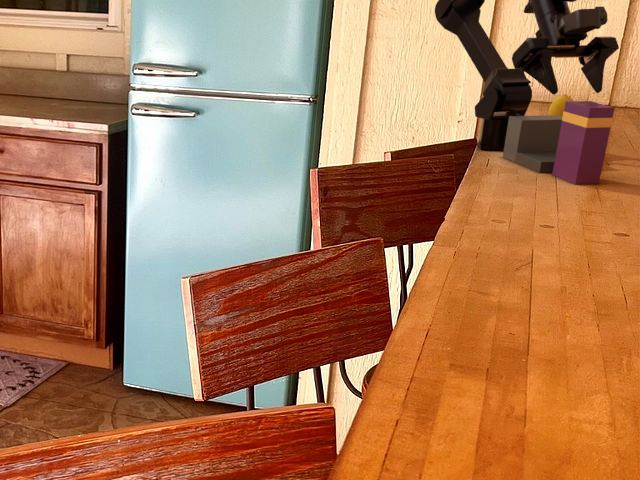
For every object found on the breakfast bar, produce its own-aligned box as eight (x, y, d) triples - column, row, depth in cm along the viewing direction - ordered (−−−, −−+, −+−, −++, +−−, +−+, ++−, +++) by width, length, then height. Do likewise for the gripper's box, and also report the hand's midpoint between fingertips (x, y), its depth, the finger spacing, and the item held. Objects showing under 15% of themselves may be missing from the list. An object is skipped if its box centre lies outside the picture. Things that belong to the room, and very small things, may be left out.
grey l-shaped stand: (502, 157, 175) (509, 116, 172) (549, 156, 177) (557, 115, 173) (539, 172, 163) (547, 128, 159) (589, 171, 164) (598, 127, 161)
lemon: (566, 128, 206) (573, 92, 203) (574, 132, 201) (581, 96, 198) (542, 127, 206) (548, 92, 203) (549, 132, 201) (556, 95, 198)
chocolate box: (574, 184, 154) (590, 107, 149) (551, 175, 161) (565, 101, 156) (599, 183, 155) (615, 107, 149) (575, 174, 162) (589, 100, 156)
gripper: (536, -11, 154) (560, 66, 150) (626, -11, 158) (653, 64, 154) (500, 30, 165) (522, 103, 161) (586, 29, 169) (610, 100, 165)
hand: (577, 92), depth 160 cm, fingers open, 9 cm apart
